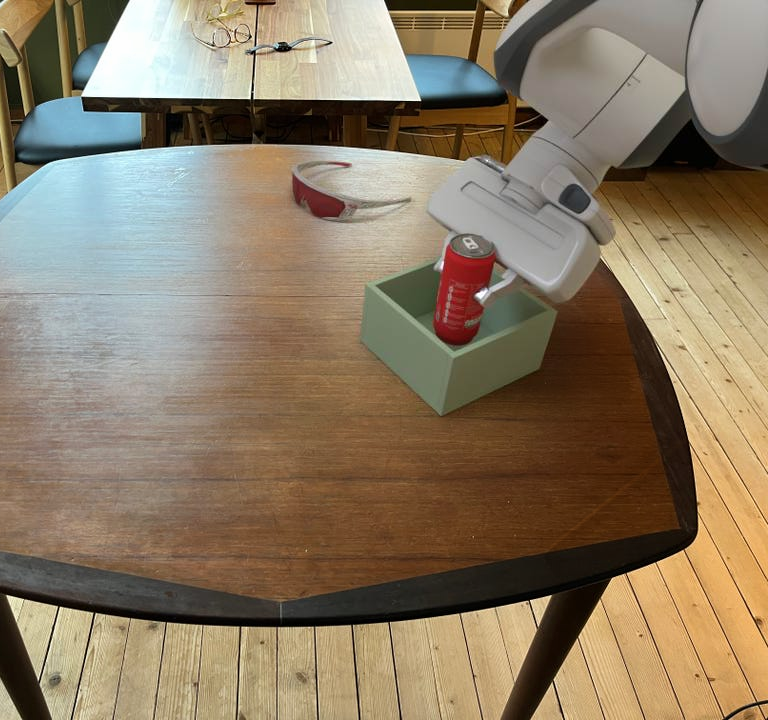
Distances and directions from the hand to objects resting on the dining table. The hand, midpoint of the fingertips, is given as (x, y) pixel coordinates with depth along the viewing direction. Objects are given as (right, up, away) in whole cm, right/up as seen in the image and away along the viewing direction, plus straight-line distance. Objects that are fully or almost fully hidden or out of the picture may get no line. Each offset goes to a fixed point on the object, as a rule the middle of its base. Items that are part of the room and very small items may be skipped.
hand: (459, 289), depth 80 cm
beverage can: (0, -5, +5) cm, 7 cm away
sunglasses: (-10, +19, +40) cm, 45 cm away
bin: (+1, -7, +11) cm, 13 cm away
